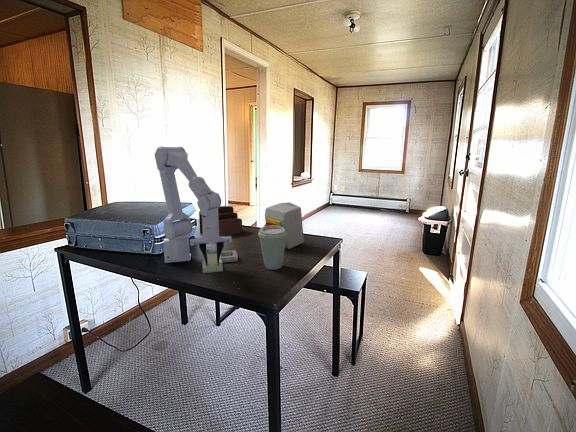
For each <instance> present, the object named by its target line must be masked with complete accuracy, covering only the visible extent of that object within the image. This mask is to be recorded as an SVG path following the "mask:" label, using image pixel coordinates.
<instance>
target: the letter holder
mask: <svg viewBox="0 0 576 432" xmlns="http://www.w3.org/2000/svg"><path fill="white" fill-rule="evenodd" d="M198 219H199V220H198V221H199V235H200V236H201V235H202V237H203V229H202V215H201V213H200V210H199V212H198ZM218 220H219V236H225V237H228V236H232V235H237V234H242V233H243V231H244V230H243V219H242V218H240V217H239V216H238V212H234V206H232V205H229V206H228V205H221V206H220V207H219V208H218Z"/></svg>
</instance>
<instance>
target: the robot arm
mask: <svg viewBox="0 0 576 432" xmlns="http://www.w3.org/2000/svg"><path fill="white" fill-rule="evenodd" d="M188 156H189V154H188V153H187V152H186V149H185V148H184V147H182V146H161V145H160V146H157V148H156V150H155V152H154V159H155V163H156V168H157V169H156V170H158V172H159V177H160V181H161V186H162V190H163V194H164V195H163V196H164V200H165V203H166V209H167V214H168V215H167V216H166V217H165V218H164V219H163V220H162V223H163V233H164V236H165V238H164V239H163V251H164V252H163V255H164V256H163V257H164V263H165V264H167V263H179V262H190V261H191V260H192V259H191V258H192V253H190V246H191V247H192V246H193V247H194V246H198V248H199V250H200V252H201V254H202V256H203V258H204V261H205V262H206V264H208V262H207V245H213V244H216V245H215V246H216V249H217V263H219V258H220V254H221V252H222V251H223V250H224V248H225V247H224V246H225V245H224V244H226V243H229V244H232V243H233V240H232V239H233V238H232V235H228V236H219V220H218V208H219V207H220V206H222V198H221V196H220V194H219V193H218V192H216V191H214V190H212V189H211V188H210V186H209V185H208V184H207V182H206V181H205V179H204V178H203V177H202V176H199V175H197V173H196V172H195V171H196V170H194V168H193V166H192V165H191V163H190V161H189V160H188V158H189V157H188ZM177 170H180V173H182V175H184V177H185V178H186V179H187V180H188V188H189V189H190V190H191V192H192V194H194V196H195V197H196V199H197V201H196V204H197V207H198V209H199V211H200V213H201V215H202V229H203V236H202V237H198V238H191V239H190V238H189V237H190V236H191V233H192V232H193V230H194V229H193V223H192V221H191V220H190V216H189V214H186V213H185V212H184V211H183V207H182V203H181V197H180V194H179V189H178V184H177V180H176V171H177Z"/></svg>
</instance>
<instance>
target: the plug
mask: <svg viewBox="0 0 576 432" xmlns="http://www.w3.org/2000/svg"><path fill="white" fill-rule="evenodd" d="M206 251H207V262H208V266H215V265H217V248H206Z"/></svg>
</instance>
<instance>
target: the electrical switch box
mask: <svg viewBox="0 0 576 432" xmlns="http://www.w3.org/2000/svg"><path fill="white" fill-rule="evenodd" d="M264 218H265V219H264V221H265V224H264V225H263V227H264V226H271V225H275V226H280V227H283V228H284V229H285V231H286V232H287V235H286V242H285V249H289V250H290V249H292V248H295V247H296V246H299V245H301V244H303V243H305V238H304V237H305V236H304V227H303V215H302V208H301V207H300V206H299V205H296V204H294V203H292V202H279V203H277V204H274V205H270V206H268V207H266V208H265V210H264Z"/></svg>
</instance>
